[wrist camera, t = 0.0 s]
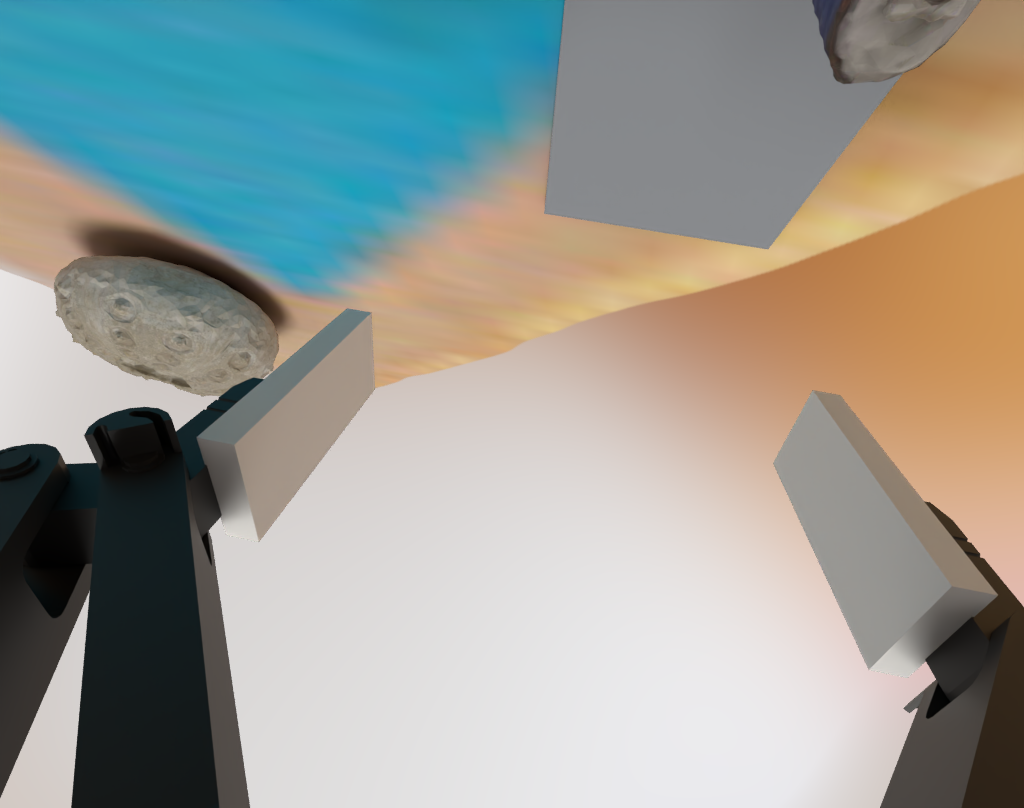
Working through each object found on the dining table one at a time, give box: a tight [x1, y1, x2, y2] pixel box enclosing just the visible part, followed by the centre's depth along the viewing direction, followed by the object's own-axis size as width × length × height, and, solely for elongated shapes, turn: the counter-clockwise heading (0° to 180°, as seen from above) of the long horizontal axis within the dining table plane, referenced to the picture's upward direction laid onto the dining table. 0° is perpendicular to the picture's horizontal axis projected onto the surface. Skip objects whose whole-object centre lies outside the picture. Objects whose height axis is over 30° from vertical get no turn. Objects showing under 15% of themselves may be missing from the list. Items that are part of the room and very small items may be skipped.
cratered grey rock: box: [54, 255, 279, 396], centre depth 46 cm, size 18×18×10 cm
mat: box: [544, 0, 903, 249], centre depth 21 cm, size 16×13×1 cm
